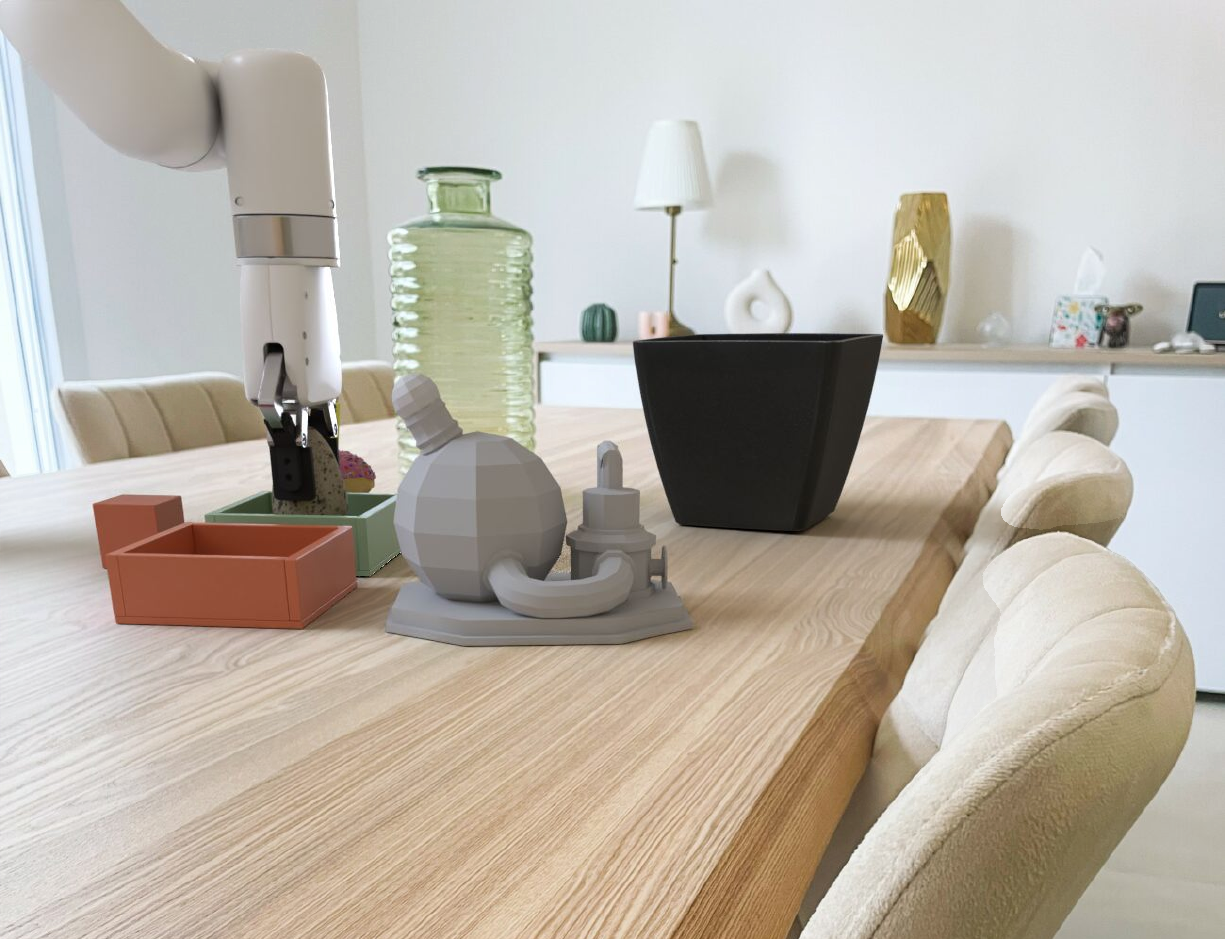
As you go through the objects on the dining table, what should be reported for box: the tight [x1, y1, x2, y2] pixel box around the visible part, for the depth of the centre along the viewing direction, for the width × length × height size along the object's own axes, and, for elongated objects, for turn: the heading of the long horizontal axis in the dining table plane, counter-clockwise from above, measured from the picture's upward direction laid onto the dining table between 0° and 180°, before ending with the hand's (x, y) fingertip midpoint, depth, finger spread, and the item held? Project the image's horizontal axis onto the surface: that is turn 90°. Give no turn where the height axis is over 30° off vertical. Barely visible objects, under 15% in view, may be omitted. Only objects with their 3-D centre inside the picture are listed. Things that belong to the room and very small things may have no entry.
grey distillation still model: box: [385, 372, 694, 647], centre depth 80 cm, size 20×15×15 cm
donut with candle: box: [331, 395, 377, 493], centre depth 111 cm, size 9×8×12 cm
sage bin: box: [203, 490, 401, 577], centre depth 99 cm, size 13×13×4 cm
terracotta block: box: [92, 493, 186, 569], centre depth 97 cm, size 5×5×5 cm
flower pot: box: [632, 332, 884, 532], centre depth 116 cm, size 19×19×17 cm
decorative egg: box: [271, 426, 348, 516], centre depth 98 cm, size 6×6×10 cm
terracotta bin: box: [105, 521, 358, 630], centre depth 85 cm, size 13×13×4 cm
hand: (308, 491), depth 98 cm, fingers closed on decorative egg, 5 cm apart
